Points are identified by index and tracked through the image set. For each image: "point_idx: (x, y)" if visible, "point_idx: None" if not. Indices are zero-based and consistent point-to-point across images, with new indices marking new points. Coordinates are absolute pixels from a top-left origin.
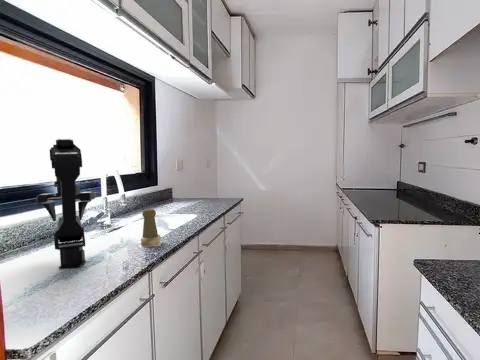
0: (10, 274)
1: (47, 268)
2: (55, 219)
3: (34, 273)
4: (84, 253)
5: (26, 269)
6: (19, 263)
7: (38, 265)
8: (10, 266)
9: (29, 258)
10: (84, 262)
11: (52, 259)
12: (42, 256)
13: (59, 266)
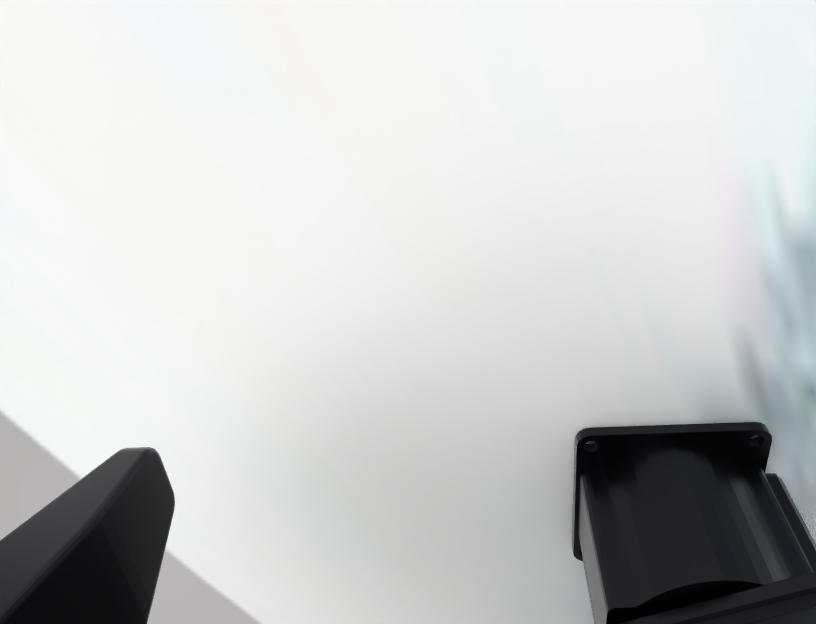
0: (263, 597)
1: (467, 523)
2: (145, 495)
3: (432, 602)
4: (813, 543)
5: (300, 522)
6: (83, 365)
7: (330, 444)
8: (81, 436)
9: (23, 197)
10: (764, 451)
11: (345, 275)
12: (119, 125)
13: (576, 548)
